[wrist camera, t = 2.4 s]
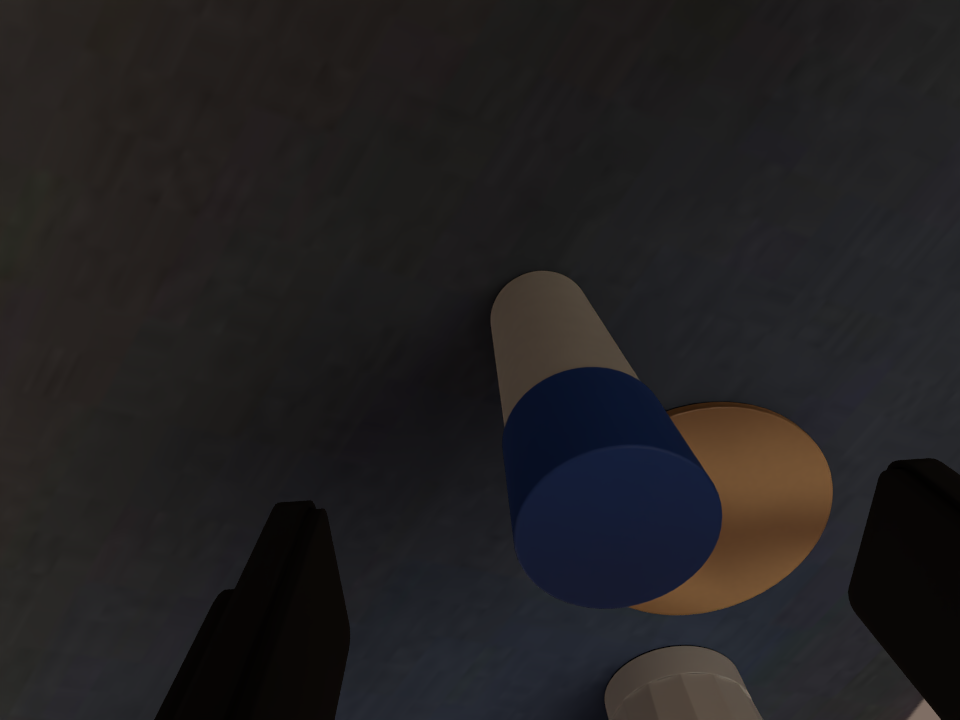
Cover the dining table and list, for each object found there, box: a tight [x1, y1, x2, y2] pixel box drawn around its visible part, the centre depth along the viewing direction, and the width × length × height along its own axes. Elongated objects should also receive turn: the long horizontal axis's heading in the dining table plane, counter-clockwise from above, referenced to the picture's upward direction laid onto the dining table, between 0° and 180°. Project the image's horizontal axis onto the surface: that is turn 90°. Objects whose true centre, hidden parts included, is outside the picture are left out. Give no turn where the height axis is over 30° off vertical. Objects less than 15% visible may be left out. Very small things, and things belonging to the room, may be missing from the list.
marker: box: [491, 271, 722, 609], centre depth 14 cm, size 3×3×10 cm
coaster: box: [629, 402, 833, 615], centre depth 22 cm, size 10×10×1 cm
